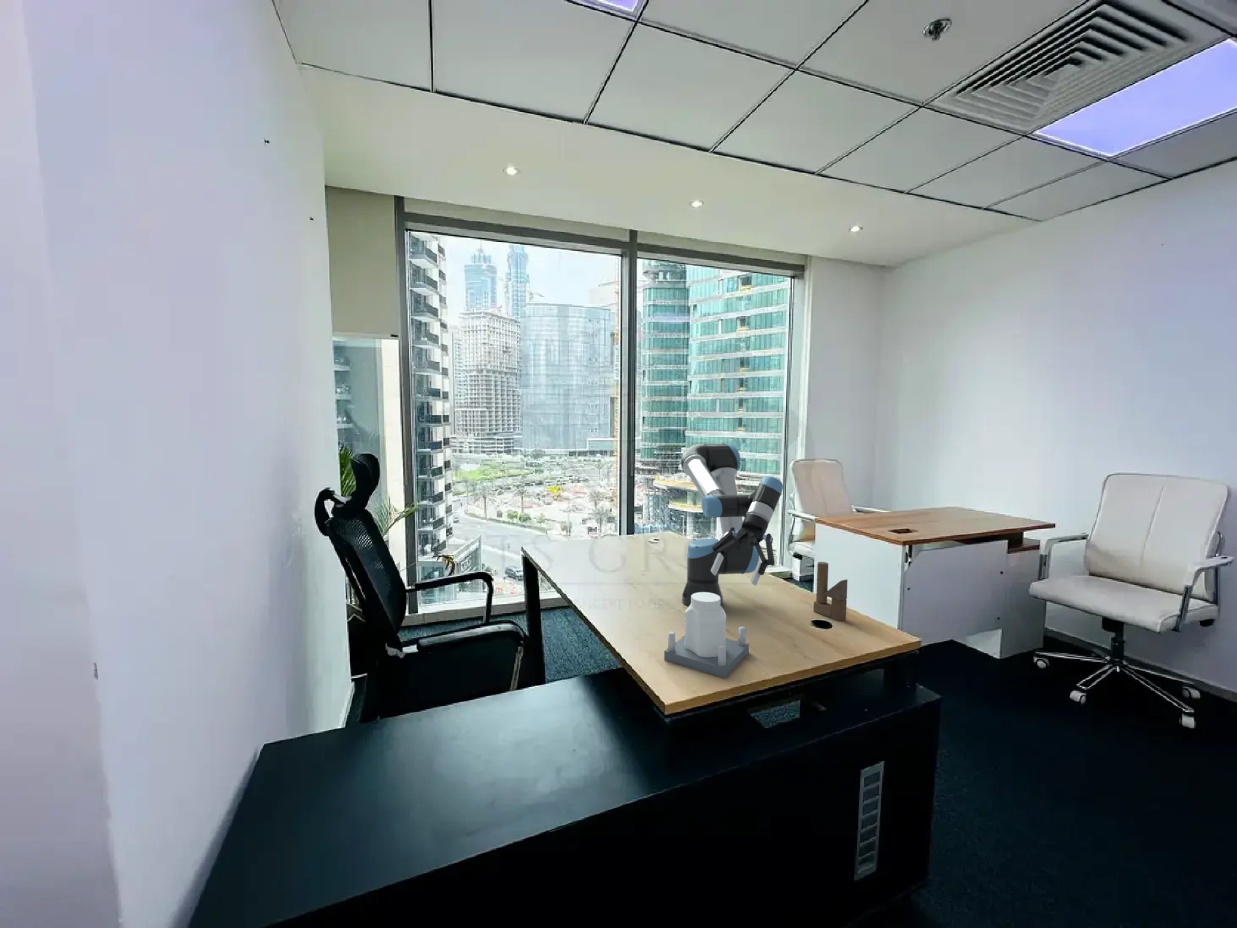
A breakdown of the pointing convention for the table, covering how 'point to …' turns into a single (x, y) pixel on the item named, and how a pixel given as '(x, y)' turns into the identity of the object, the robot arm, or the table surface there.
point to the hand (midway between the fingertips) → (732, 578)
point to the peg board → (713, 665)
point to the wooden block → (830, 595)
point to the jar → (705, 624)
